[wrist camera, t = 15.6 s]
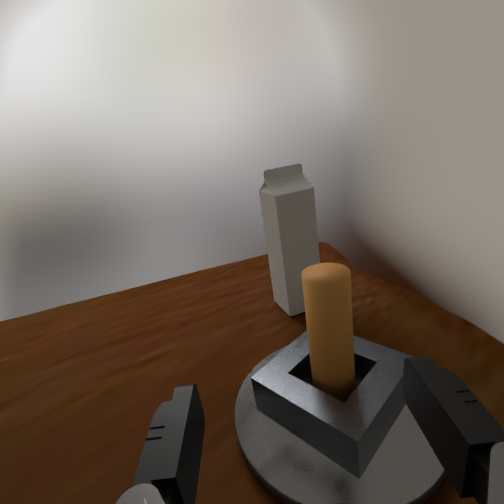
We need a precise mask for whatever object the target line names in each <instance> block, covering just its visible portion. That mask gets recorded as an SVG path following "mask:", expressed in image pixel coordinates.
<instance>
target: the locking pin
mask: <svg viewBox="0 0 504 504" xmlns="http://www.w3.org/2000/svg"><path fill="white" fill-rule="evenodd" d="M301 276H302V286H303V295H304V305H305V314H306V324H307V334H308V343H309V353H310V363H311V372H312V382H313V387H315V388H317V389H319V390H321V391H323V392H324V393H326V394H328V395H330V396H332V397H334V398H336V399H338V400H340V401H342V402H343V403H345V402H346V400H347V399H348V398H349V397H350V395H351V394H352V393H353V392H354V390H355V389H356V385H355V363H354V340H353V318H352V296H351V273H350V269H349V268H348V267H346V266H344V265H341V264H337V263H319V264H314V265H311V266H309V267H307V268H305V269H304V270H303V271H302V273H301Z"/></svg>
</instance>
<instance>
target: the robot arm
mask: <svg viewBox="0 0 504 504" xmlns="http://www.w3.org/2000/svg"><path fill="white" fill-rule="evenodd" d="M403 395H404V399H405V402H406V404H407V406H408V408H409V410H410V411H411V413H412V415H413V417H414V418H415V420H416V422H417V424H418V425H419V427H420V429H421V430H422V432H423V434H424V436H425V437H426V439H427V441H428V442H429V444H430V446H431V448H432V449H433V451H434V453H435V455H436V456H437V458H438V460H439V461H440V463H441V465H442V467H443V468H444V470H445V472H446V474H447V475H448V477H449V479H450V480H451V482H452V484H453V486H454V487H455V489H456V491H457V493H458V494H459V496H460V498H469V497H474V498H475V500H476V501H477V503H478V504H504V429H503V428H502V427H501V426H500V425H499V424H498V422H497V421H496V420H495V419H494V418H493V417H492V415H491V414H490V413H489V412H488V411H487V409H486V408H485V407H484V406H483V405H482V404H481V402H479V401H478V399H477V398H476V397H475V395H474V394H473V393H472V392H470V389H469V388H468V387H467V386H466V385H465V384H464V382H463V381H462V380H461V379H460V378H459V377H458V376H456V375H455V374H453V373H452V372H450V371H449V370H447V369H446V368H442V369H438V368H437V367H436V366H435V365H434V363H433V362H432V361H431V359H430V358H429V357H428V356H418V357H410V358H405V360H404V371H403ZM204 430H205V418H204V412H203V408H202V404H201V400H200V396H199V392H198V388H197V385H196V384H188V385H180V386H176V387H175V390H174V393H173V397H172V401H168V402H163V403H162V404H161V405H160V407H159V408H158V409H157V411H156V412H155V413H154V415H153V419H152V422H151V425H150V430H149V432H148V435H147V438H146V439H147V440H146V441H145V444H144V448H143V451H142V454H141V457H140V460H139V464H138V467H137V470H136V473H135V476H134V480H133V483H132V485H131V488H130V489H129V490H127V491H126V492H125V493H124V494H123V495H122V496H121V497H120V498H119V500H118V501H117V503H116V504H195V499H196V492H197V484H198V476H199V469H200V461H201V453H202V446H203V438H204Z"/></svg>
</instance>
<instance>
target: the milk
mask: <svg viewBox="0 0 504 504" xmlns="http://www.w3.org/2000/svg"><path fill="white" fill-rule="evenodd" d="M264 180H265V182H264V184H263V185H262V187H261V189H260V190H259V195H260V202H261V208H262V216H263V223H264V230H265V237H266V244H267V250H268V259H269V266H270V273H271V280H272V287H273V294H274V301H275V302H276V303H277V304H278V305H279V306H280V307H281V308H282V309H283V310H284V311H285V312H286V313H287V314H288V315H289V316H290V317H291V316H294V315H296V314H299V313H302V312H305V305H304V295H303V286H302V276H301V273H302V271H303V270H304V269H305V268H307V267H309V266H311V265H314V264H319V263H320V260H319V247H318V235H317V222H316V210H315V198H314V187H313V186H312V185H311V183H310V182H309V181H308V180H307V179H306V177H304V175H303V172H302V165H301V164H294V165H289V166H285V167H279V168H275V169H269V170H265V171H264Z"/></svg>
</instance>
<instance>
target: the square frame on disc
mask: <svg viewBox="0 0 504 504" xmlns="http://www.w3.org/2000/svg"><path fill="white" fill-rule="evenodd" d="M353 340H354V363H355V385H356V389H355V390H354V392H353V393H352V394H351V395H350V397H349V398H348V399H347V400H346V402H345V403H343V402H342V401H340V400H338V399H336V398H334V397H332V396H330V395H328V394H326V393H324V392H323V391H321V390H319V389H317V388H315V387H313V382H312V372H311V363H310V353H309V343H308V334H307V330H306V331H305V332H304V333H303V334H302V335H300V336H299V337H298V338H297V339H296V340H294V341H293V342H292V343H291V344H290V345H289V346H286V347H284V348H282V349H279V350H277V351H276V352H274V353H272V354H270V355H269V356H267V357H266V358H265V359H263V360H262V361H261V362H260V363H259V364H258V365H257V366H255V367H254V369H253V370H252V371H251V372H250V373H249V375H248V376H247V378H246V379H245V381H244V382H243V384H242V386H241V389H240V391H239V394H238V397H237V400H236V407H235V425H236V430H237V435H238V439H239V444H240V447H241V450H242V453H243V456H244V458H245V460H246V462H247V464H248V466H249V468H250V470H251V471H252V472H253V474H254V475H255V477H256V478H257V479H258V481H259V482H260V483H261V484H262V485H263V486H264V487H265V488H266V489H267V490H268V491H269V492H270V493H271V494H272V495H274V496H275V497H276V498H278V499H279V500H280V501H281V502H283V503H284V504H424V503H425V502H426V501H428V500H429V499H430V498H431V497H432V496H433V495H434V493H435V492H436V491H437V490H438V489H439V487H440V486H441V484H442V482H443V480H444V478H445V477H446V475H447V474H446V472H445V470H444V468H443V467H442V465H441V463H440V461H439V460H438V458H437V456H436V455H435V453H434V451H433V449H432V448H431V446H430V444H429V442H428V441H427V439H426V437H425V436H424V434H423V432H422V430H421V429H420V427H419V425H418V424H417V422H416V420H415V418H414V417H413V415H412V413H411V411H410V410H409V408H408V406H407V404H406V402H405V399H404V395H403V371H404V360H405V358H410V357H413V356H410V355H407V354H405V353H402V352H399V351H396V350H393V349H391V348H388V347H385V346H382V345H379V344H377V343H374V342H371V341H368V340H365V339H363V338H360V337H357V336H354V335H353Z"/></svg>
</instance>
